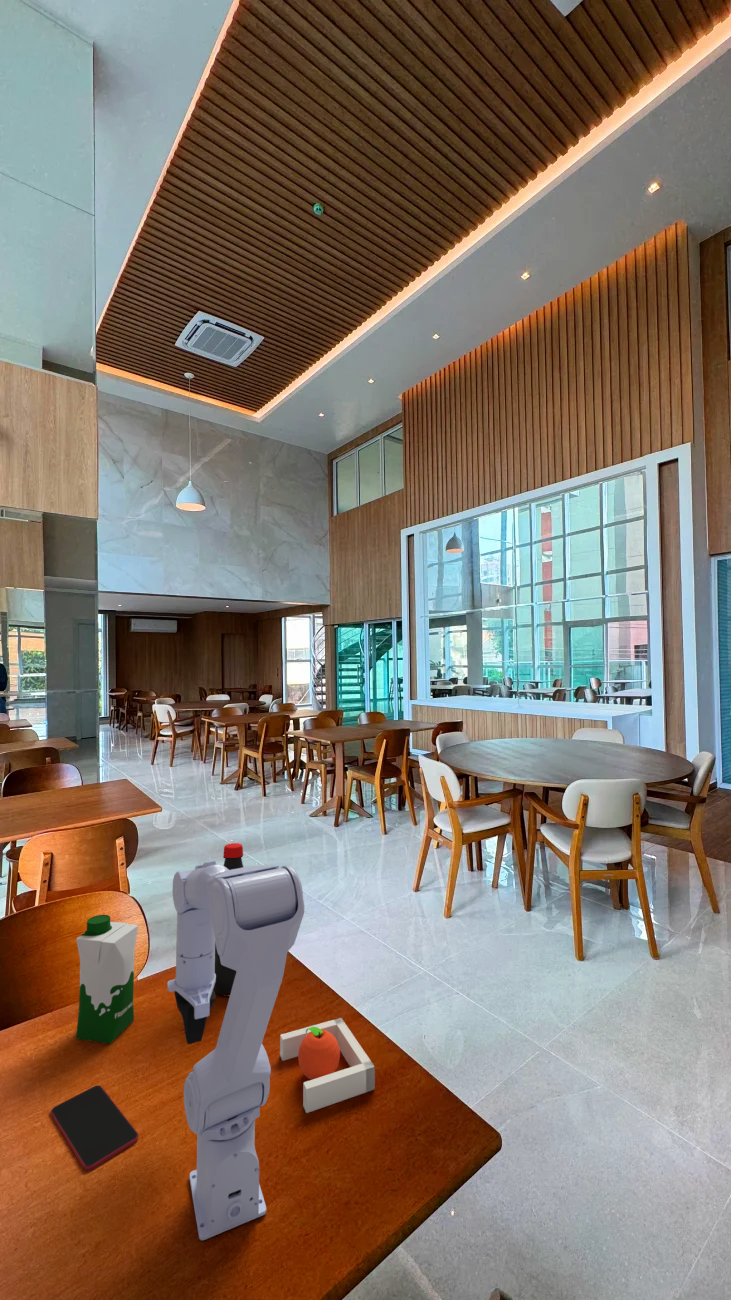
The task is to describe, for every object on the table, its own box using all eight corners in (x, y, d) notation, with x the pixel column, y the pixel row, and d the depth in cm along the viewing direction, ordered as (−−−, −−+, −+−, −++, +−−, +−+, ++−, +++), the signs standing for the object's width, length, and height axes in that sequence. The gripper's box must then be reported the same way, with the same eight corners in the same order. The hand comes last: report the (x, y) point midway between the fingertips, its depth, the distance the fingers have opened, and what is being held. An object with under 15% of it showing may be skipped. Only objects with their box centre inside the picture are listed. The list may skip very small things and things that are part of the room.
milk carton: (100, 1012, 107) (103, 908, 108) (141, 1018, 106) (144, 912, 107) (67, 1041, 99) (71, 928, 100) (112, 1048, 97) (115, 933, 98)
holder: (374, 1089, 88) (374, 1066, 88) (306, 1113, 83) (306, 1089, 83) (341, 1037, 100) (341, 1017, 100) (280, 1055, 95) (280, 1034, 96)
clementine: (287, 1069, 92) (287, 1025, 92) (322, 1052, 96) (322, 1011, 96) (311, 1099, 86) (312, 1052, 86) (348, 1079, 90) (348, 1034, 90)
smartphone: (99, 1083, 88) (140, 1135, 78) (99, 1089, 88) (140, 1142, 78) (48, 1109, 83) (86, 1169, 73) (48, 1115, 83) (85, 1176, 72)
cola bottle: (246, 1000, 112) (248, 850, 113) (205, 999, 112) (207, 850, 113) (255, 977, 120) (257, 838, 122) (217, 977, 120) (219, 838, 122)
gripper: (163, 933, 89) (161, 1019, 88) (173, 978, 76) (171, 1079, 75) (208, 925, 92) (206, 1008, 91) (225, 967, 79) (223, 1064, 78)
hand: (193, 1040), depth 84 cm, fingers closed
